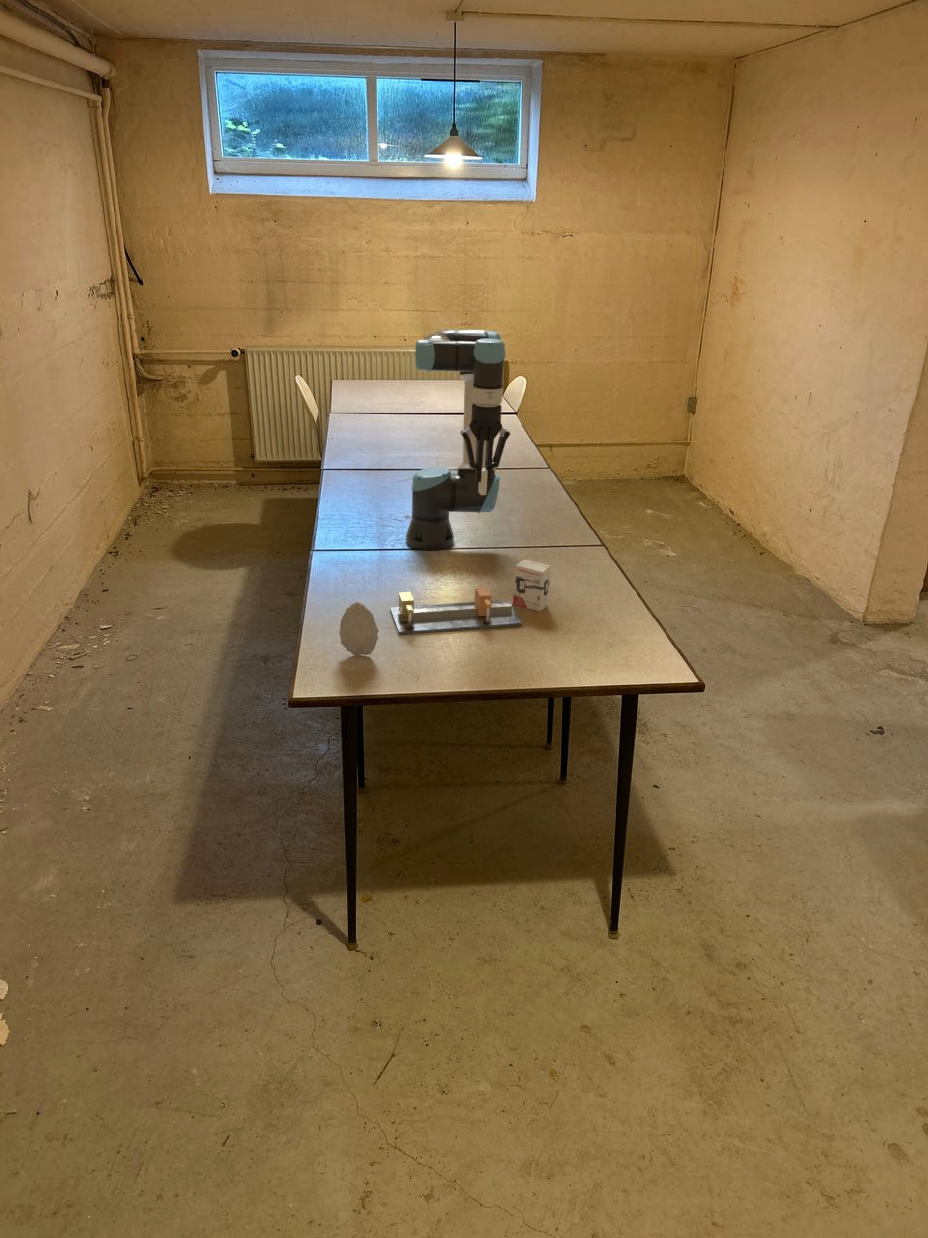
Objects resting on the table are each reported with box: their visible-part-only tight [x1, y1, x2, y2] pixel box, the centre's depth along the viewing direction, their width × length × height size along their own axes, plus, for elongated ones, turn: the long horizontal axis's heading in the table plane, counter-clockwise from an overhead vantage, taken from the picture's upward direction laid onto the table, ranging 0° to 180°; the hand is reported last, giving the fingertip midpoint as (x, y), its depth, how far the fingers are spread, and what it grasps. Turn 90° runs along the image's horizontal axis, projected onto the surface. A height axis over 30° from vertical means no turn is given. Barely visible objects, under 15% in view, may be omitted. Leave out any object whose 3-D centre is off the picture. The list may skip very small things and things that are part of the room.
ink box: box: [512, 559, 552, 612], centre depth 228 cm, size 8×5×12 cm, turn 60°
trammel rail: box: [398, 591, 513, 628], centre depth 218 cm, size 9×30×6 cm, turn 103°
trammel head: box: [474, 586, 492, 622], centre depth 219 cm, size 9×3×6 cm, turn 13°
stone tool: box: [338, 601, 379, 656], centre depth 198 cm, size 9×3×15 cm, turn 93°
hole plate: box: [389, 599, 523, 636], centre depth 221 cm, size 14×32×1 cm, turn 103°
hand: (482, 493), depth 225 cm, fingers closed
